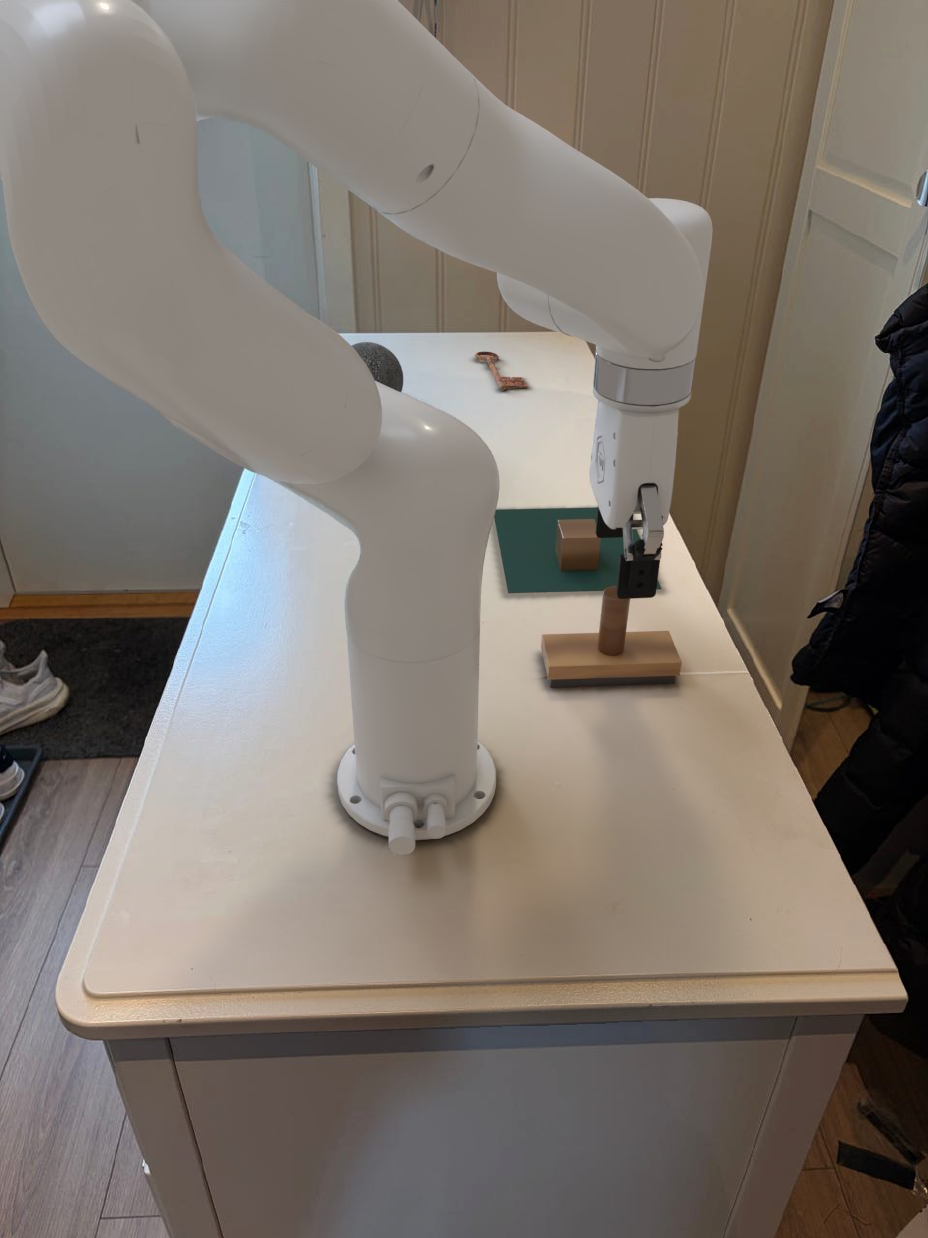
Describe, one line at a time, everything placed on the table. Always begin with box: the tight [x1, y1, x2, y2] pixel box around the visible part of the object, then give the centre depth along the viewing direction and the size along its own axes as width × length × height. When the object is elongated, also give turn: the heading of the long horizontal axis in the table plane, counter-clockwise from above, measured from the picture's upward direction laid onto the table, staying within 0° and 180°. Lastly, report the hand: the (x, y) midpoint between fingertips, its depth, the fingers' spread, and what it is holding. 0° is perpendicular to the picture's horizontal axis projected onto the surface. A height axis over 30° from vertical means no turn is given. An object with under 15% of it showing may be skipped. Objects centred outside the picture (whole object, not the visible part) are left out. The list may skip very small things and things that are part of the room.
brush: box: [540, 586, 683, 688], centre depth 89 cm, size 5×12×8 cm, turn 94°
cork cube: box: [555, 519, 601, 571], centre depth 106 cm, size 4×4×4 cm
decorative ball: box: [351, 341, 404, 393], centre depth 137 cm, size 10×10×10 cm
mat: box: [493, 506, 662, 594], centre depth 109 cm, size 18×16×1 cm
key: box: [474, 351, 528, 391], centre depth 153 cm, size 6×1×15 cm
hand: (623, 564), depth 85 cm, fingers open, 9 cm apart
